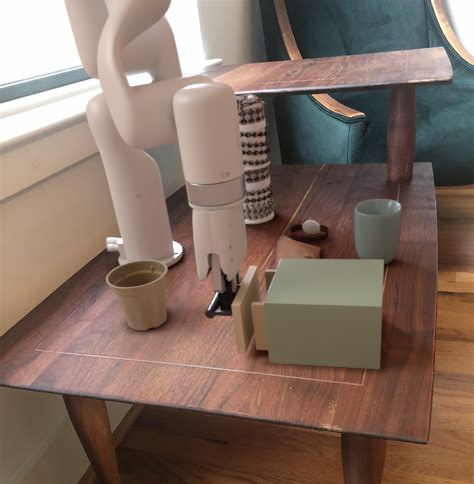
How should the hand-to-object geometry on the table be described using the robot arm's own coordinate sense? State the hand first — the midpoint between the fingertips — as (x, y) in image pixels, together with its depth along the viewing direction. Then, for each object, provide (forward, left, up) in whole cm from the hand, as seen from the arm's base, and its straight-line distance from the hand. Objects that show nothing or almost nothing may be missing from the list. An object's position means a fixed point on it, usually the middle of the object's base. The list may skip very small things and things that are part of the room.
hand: (232, 311), depth 79 cm
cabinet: (+14, 0, -4) cm, 14 cm away
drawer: (+6, 0, -3) cm, 7 cm away
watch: (+7, +34, -4) cm, 35 cm away
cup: (+20, +25, -4) cm, 32 cm away
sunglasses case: (+6, +20, -4) cm, 22 cm away
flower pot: (-15, +3, -4) cm, 16 cm away
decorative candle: (-7, +46, -4) cm, 47 cm away
